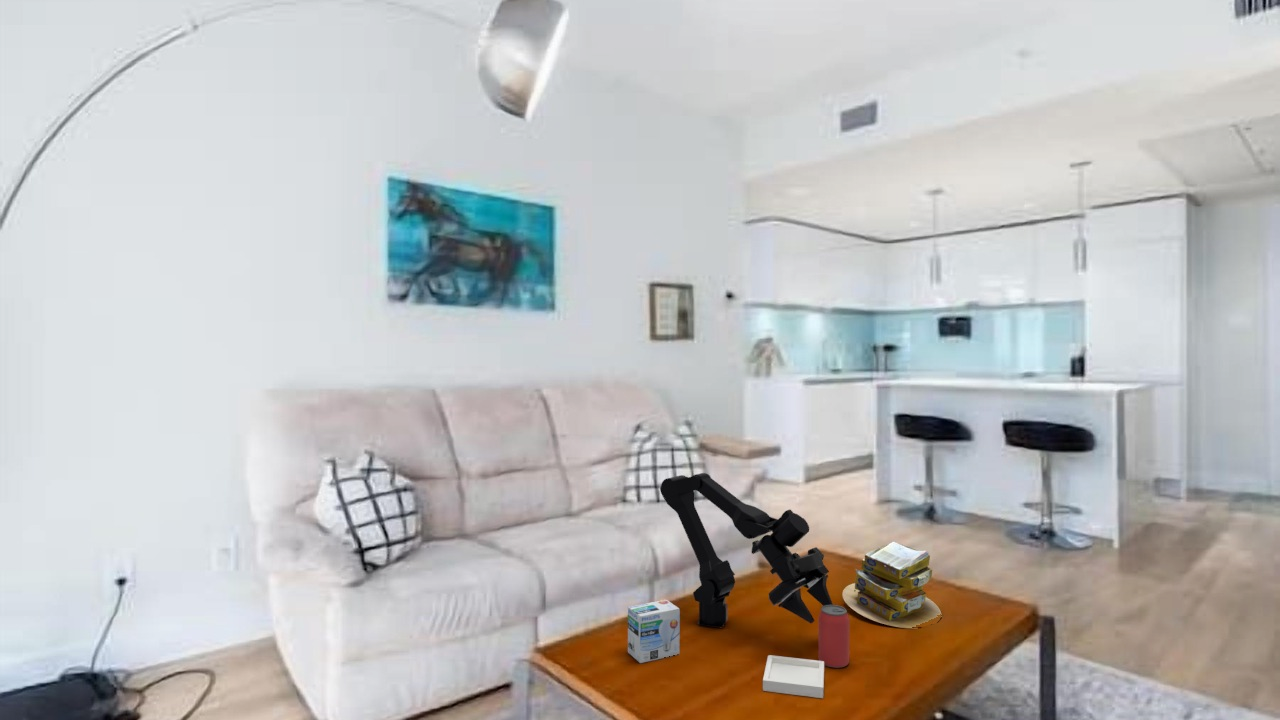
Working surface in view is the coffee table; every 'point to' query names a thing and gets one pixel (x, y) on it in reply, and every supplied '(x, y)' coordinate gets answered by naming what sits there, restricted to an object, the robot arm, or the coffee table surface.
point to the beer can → (834, 636)
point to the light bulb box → (653, 630)
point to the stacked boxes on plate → (893, 587)
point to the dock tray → (794, 676)
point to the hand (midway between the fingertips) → (823, 616)
